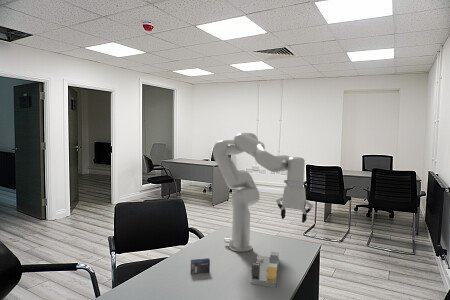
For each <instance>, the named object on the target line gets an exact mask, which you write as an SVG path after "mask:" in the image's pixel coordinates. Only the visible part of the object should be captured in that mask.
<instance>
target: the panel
mask: <svg viewBox="0 0 450 300" xmlns="http://www.w3.org/2000/svg"><path fill="white" fill-rule="evenodd" d="M269 257H270V256H264V255H257V256H256V262H255V263H260V275H259V277H255V276H252V275H251V278H250V284H251V285H256V286H257V285H258V286H263V287H271V288H276V286H277V280H278V279H277V277H278V272H279V271H278V270H279V264H280V260H279V261H278V265H277V273H276V280H271V279H267V269H268V264H269V262H270V260H269Z"/></svg>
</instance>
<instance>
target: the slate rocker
mask: <svg viewBox="0 0 450 300" xmlns="http://www.w3.org/2000/svg"><path fill="white" fill-rule="evenodd" d="M279 253H280V252H274V251H271V252H270V255H269V256H268V257H269V260H270V262H269V263H273V264H277V265H278V261H279V262H280V258H279V256H280V254H279ZM278 266H279V265H278Z"/></svg>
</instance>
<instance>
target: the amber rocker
mask: <svg viewBox="0 0 450 300" xmlns="http://www.w3.org/2000/svg"><path fill="white" fill-rule="evenodd" d="M276 273H277V274H278V272H277V264H273V263H269V264H268V269H267V279H271V280H276ZM276 281H277V280H276Z"/></svg>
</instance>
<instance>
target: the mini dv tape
mask: <svg viewBox="0 0 450 300" xmlns="http://www.w3.org/2000/svg"><path fill="white" fill-rule="evenodd" d="M210 269H211V259H210V258H207V257H206V258H198V259H197V258H196V259H190V275H200V274H210Z"/></svg>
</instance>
